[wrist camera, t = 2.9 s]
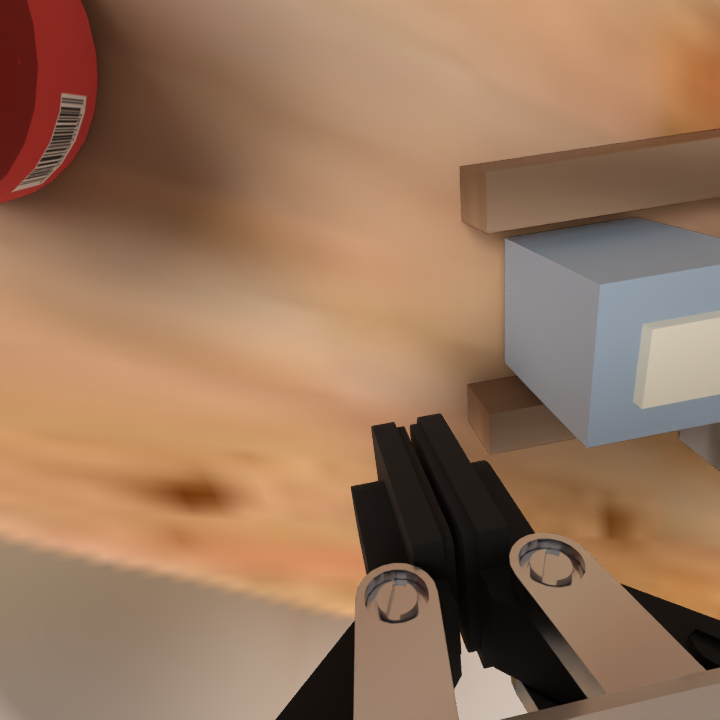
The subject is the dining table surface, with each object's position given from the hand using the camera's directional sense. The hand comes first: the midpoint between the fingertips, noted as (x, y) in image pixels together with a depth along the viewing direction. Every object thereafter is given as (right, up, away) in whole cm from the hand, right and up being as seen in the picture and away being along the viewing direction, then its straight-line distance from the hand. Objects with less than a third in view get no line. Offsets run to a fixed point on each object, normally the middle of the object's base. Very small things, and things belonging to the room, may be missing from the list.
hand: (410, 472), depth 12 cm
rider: (+7, +5, +7) cm, 11 cm away
